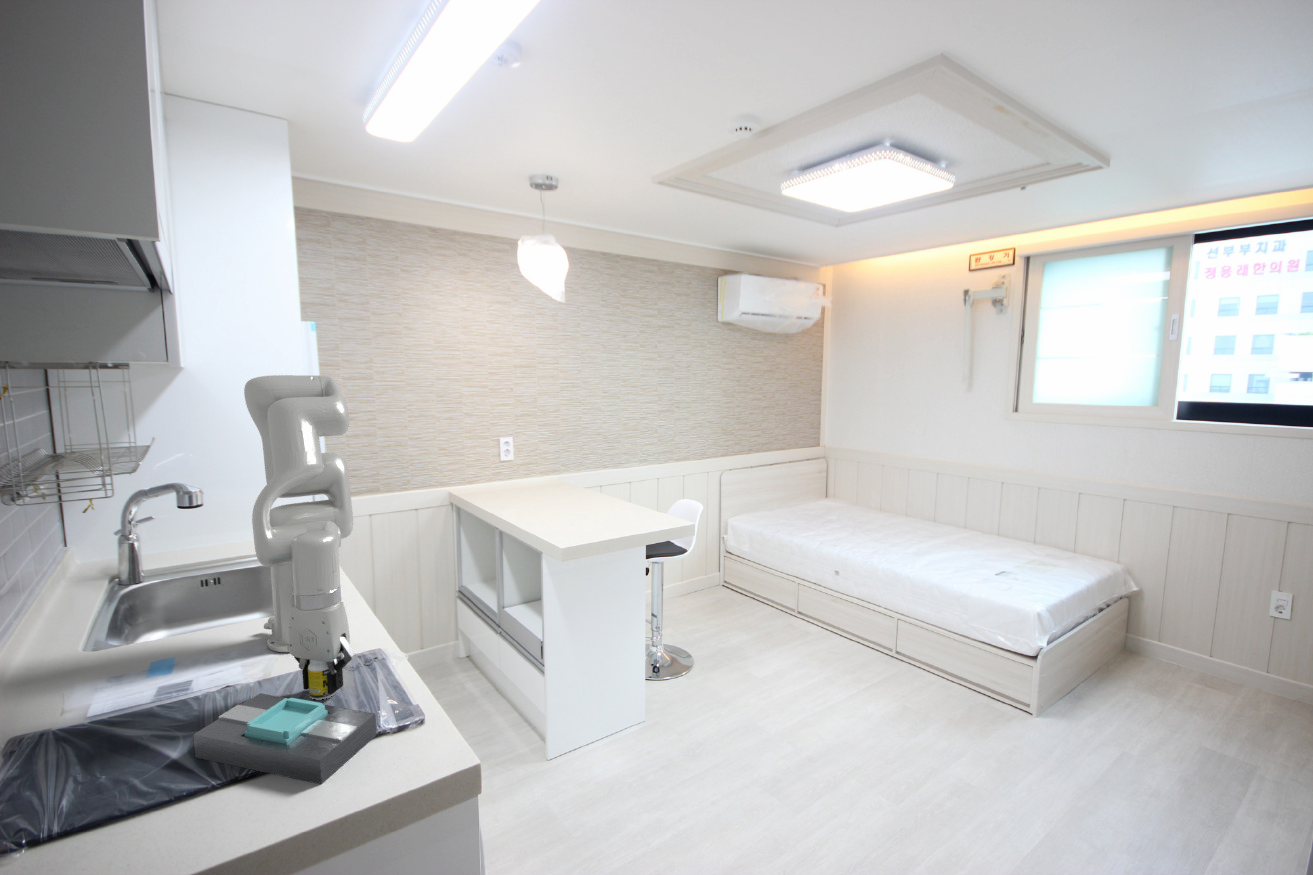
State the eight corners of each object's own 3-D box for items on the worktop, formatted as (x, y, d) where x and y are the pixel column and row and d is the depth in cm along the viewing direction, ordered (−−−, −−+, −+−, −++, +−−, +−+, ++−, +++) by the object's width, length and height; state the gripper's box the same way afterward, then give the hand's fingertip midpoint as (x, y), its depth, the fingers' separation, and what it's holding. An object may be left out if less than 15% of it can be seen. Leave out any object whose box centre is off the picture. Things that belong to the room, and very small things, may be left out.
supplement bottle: (325, 702, 109) (322, 660, 107) (303, 699, 110) (300, 657, 108) (343, 688, 113) (341, 648, 112) (322, 685, 114) (320, 645, 113)
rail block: (195, 757, 93) (193, 732, 93) (261, 713, 105) (259, 691, 104) (321, 784, 88) (319, 757, 87) (376, 735, 100) (375, 711, 99)
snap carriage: (245, 743, 93) (243, 725, 93) (288, 713, 101) (286, 696, 101) (287, 752, 91) (286, 733, 91) (328, 721, 99) (327, 703, 99)
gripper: (263, 600, 107) (270, 692, 109) (341, 610, 103) (346, 705, 106) (296, 585, 114) (302, 671, 117) (371, 594, 111) (375, 683, 113)
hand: (323, 686), depth 111 cm, fingers closed on supplement bottle, 4 cm apart
